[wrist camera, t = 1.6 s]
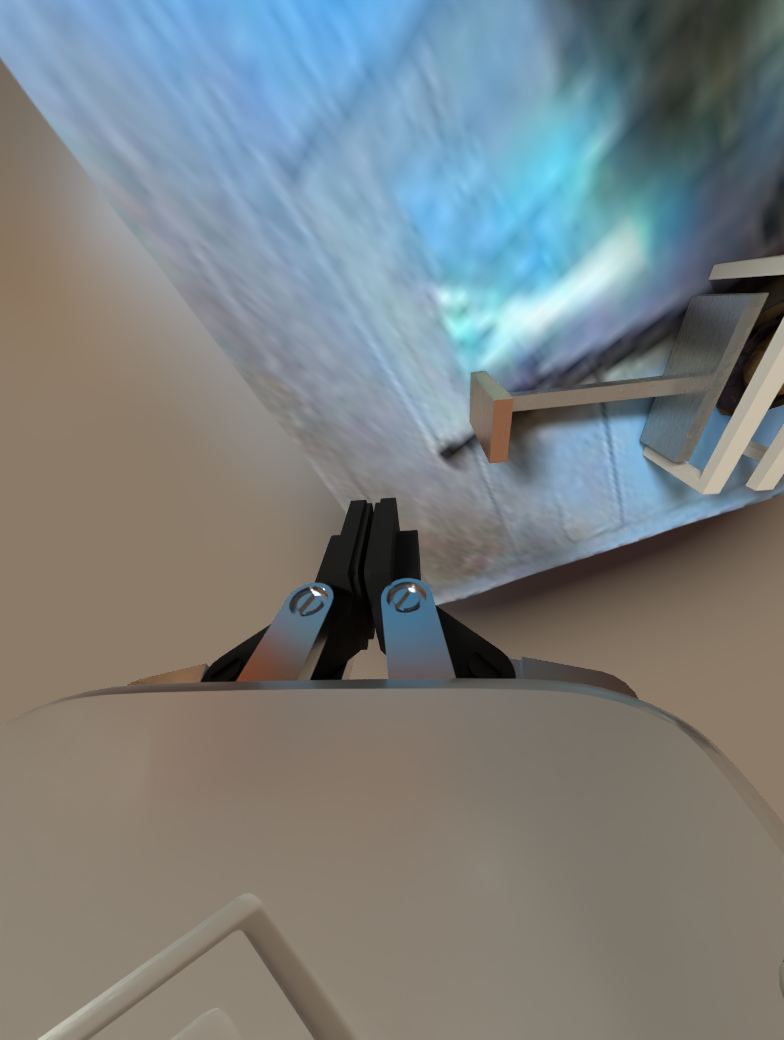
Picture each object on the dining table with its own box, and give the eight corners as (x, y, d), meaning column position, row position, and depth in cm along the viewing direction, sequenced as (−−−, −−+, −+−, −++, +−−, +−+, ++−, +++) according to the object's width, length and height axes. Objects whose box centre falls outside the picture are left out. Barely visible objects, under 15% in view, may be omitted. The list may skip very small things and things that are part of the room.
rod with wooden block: (471, 326, 29) (498, 337, 20) (705, 294, 26) (849, 290, 18) (468, 455, 36) (486, 503, 27) (650, 438, 34) (732, 486, 25)
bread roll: (706, 335, 29) (739, 339, 26) (826, 275, 26) (880, 272, 23) (709, 430, 34) (738, 443, 31) (810, 389, 31) (852, 398, 28)
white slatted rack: (714, 264, 25) (835, 250, 18) (853, 244, 24) (1042, 219, 17) (642, 454, 35) (702, 494, 28) (739, 446, 34) (828, 485, 27)
